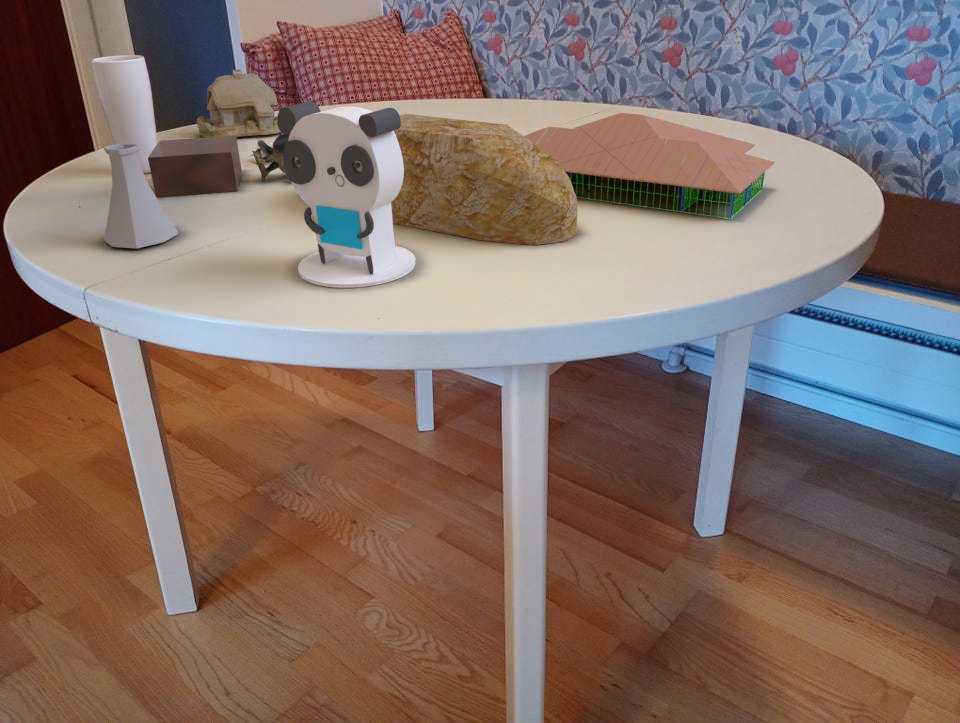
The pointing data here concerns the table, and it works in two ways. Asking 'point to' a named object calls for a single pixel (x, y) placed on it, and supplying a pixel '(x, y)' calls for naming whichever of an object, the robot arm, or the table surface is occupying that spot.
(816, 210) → the table surface
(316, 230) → the panda figurine
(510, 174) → the brown rock
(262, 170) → the eagle figurine
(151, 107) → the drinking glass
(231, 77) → the ceramic model
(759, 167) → the house
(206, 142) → the walnut block
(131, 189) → the flask
